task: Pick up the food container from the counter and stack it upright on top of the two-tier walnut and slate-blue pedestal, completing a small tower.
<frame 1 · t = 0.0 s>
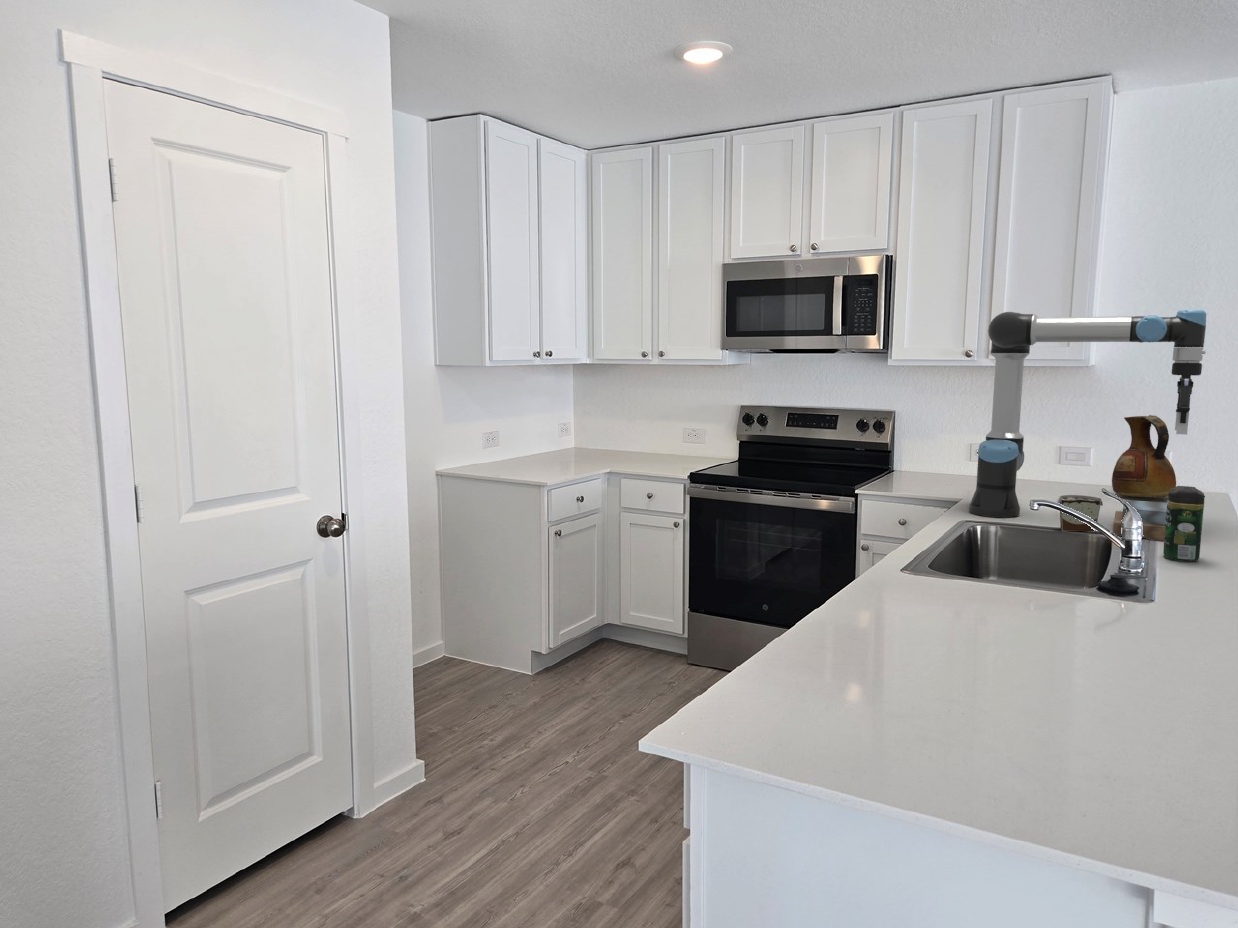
hand: (1180, 432, 262), 28 cm above the counter, tool pointing down, fingers open, 13 cm apart
ceramic pitcher: (1142, 498, 308), on the counter
coffee jar: (1180, 558, 222), on the counter
pedestal: (1153, 533, 250), on the counter
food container: (1074, 530, 255), on the counter
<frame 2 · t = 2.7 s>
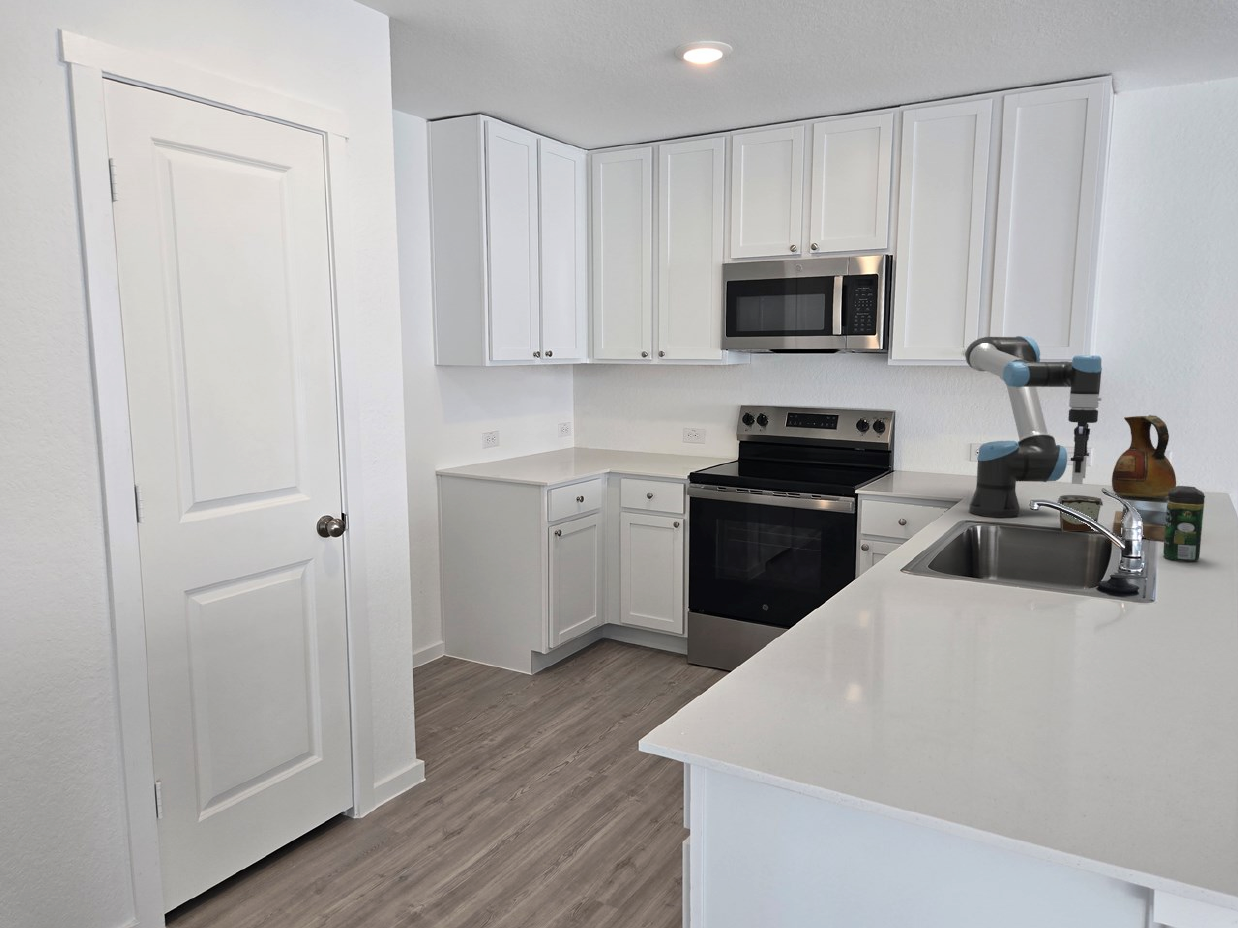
hand: (1078, 480, 253), 15 cm above the counter, tool pointing down, fingers open, 13 cm apart
nothing on the counter moved.
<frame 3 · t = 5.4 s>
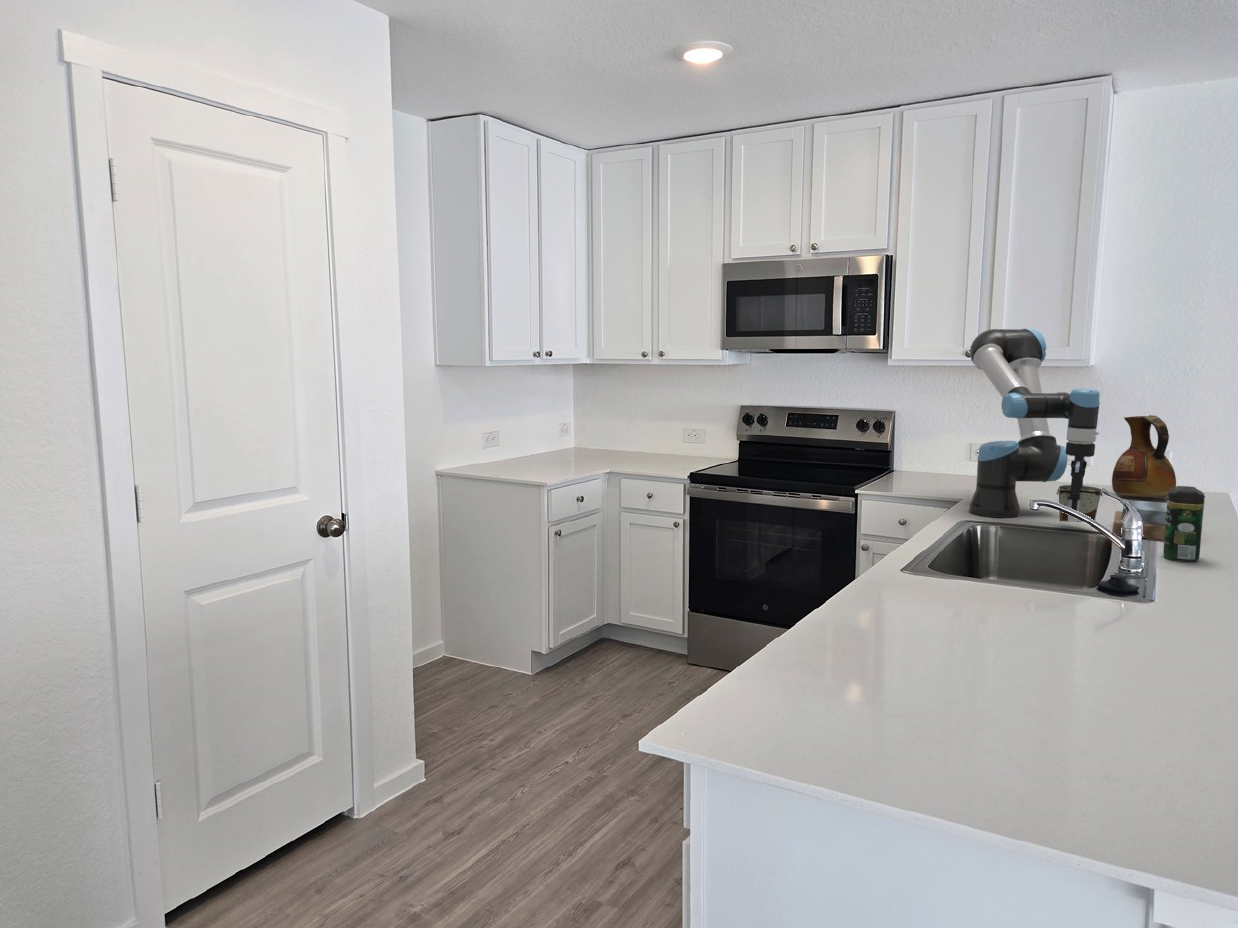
hand: (1073, 518, 256), 3 cm above the counter, tool pointing down, fingers closed on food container, 6 cm apart
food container: (1073, 520, 256), point 3 cm above the counter, touching gripper
everything else where it was.
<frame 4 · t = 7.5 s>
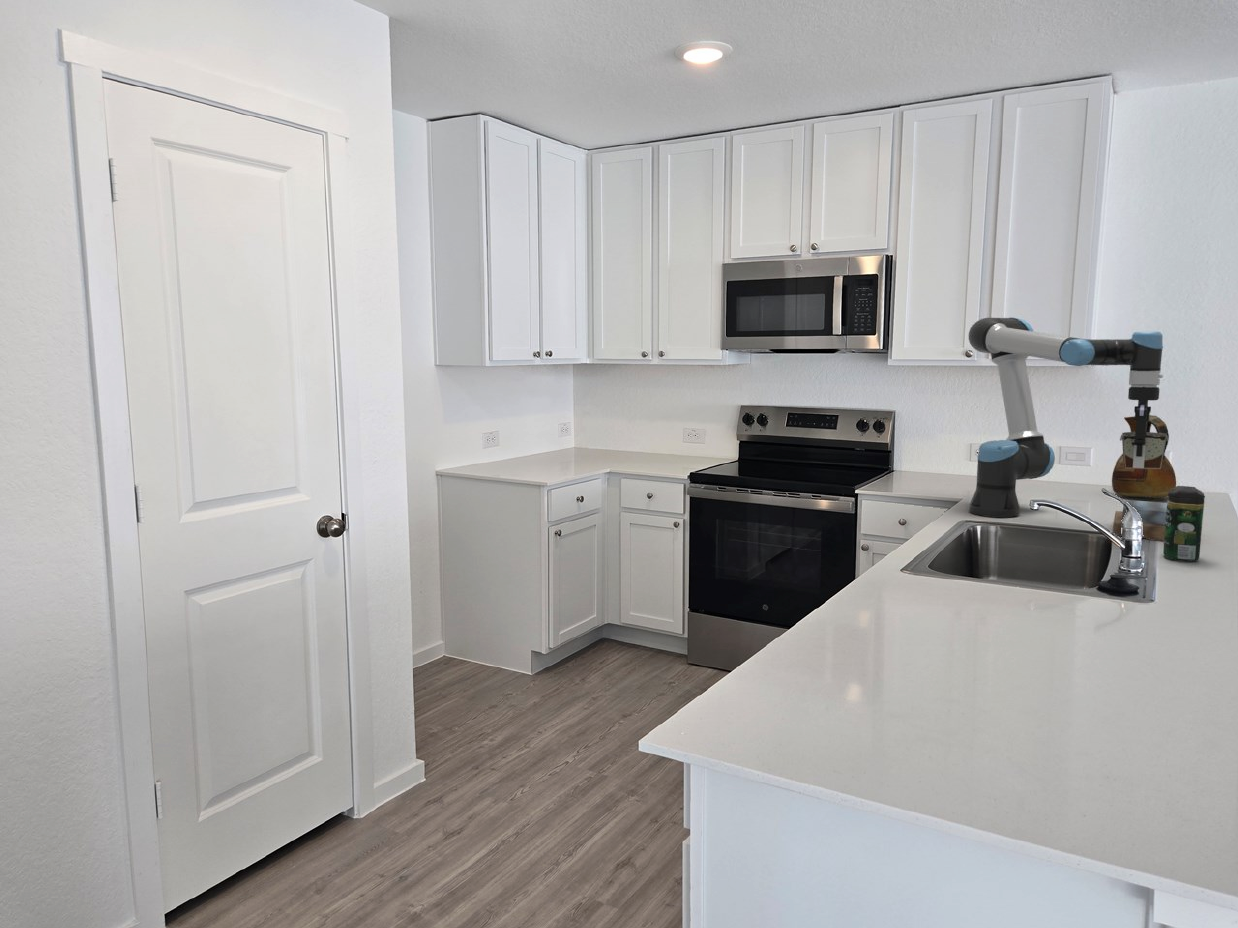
hand: (1138, 466, 248), 20 cm above the counter, tool pointing down, fingers closed on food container, 6 cm apart
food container: (1138, 467, 249), point 19 cm above the counter, touching gripper
everything else where it was.
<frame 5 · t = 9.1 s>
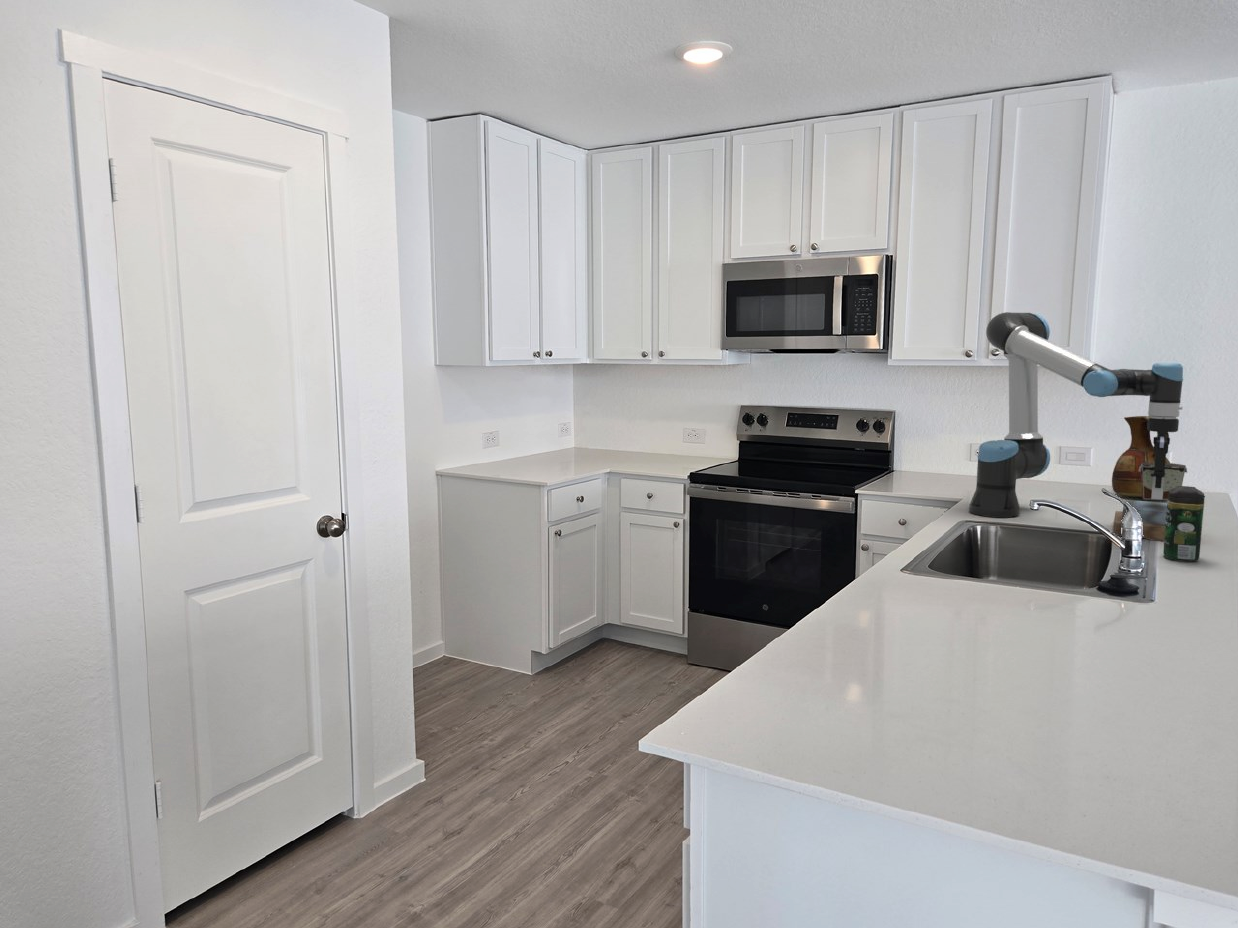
hand: (1156, 497, 249), 11 cm above the counter, tool pointing down, fingers closed on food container, 6 cm apart
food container: (1156, 498, 249), point 10 cm above the counter, touching gripper
everything else where it was.
when the fingers open (8 cm above the counter, at t = 9.9 s): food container stays where it is, resting on pedestal.
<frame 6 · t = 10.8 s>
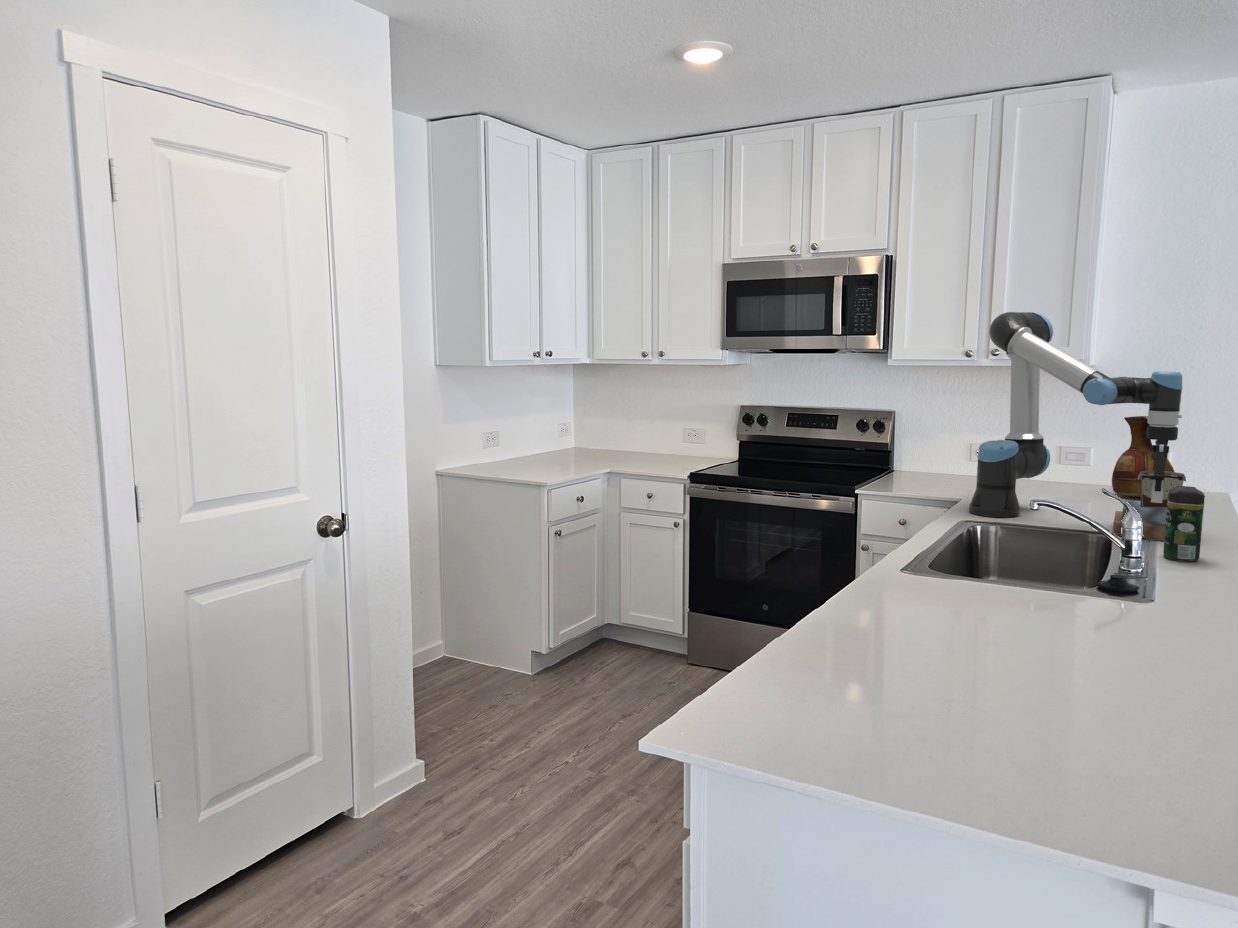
hand: (1156, 498, 249), 10 cm above the counter, tool pointing down, fingers open, 13 cm apart
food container: (1155, 506, 250), point 8 cm above the counter, touching pedestal
everything else where it was.
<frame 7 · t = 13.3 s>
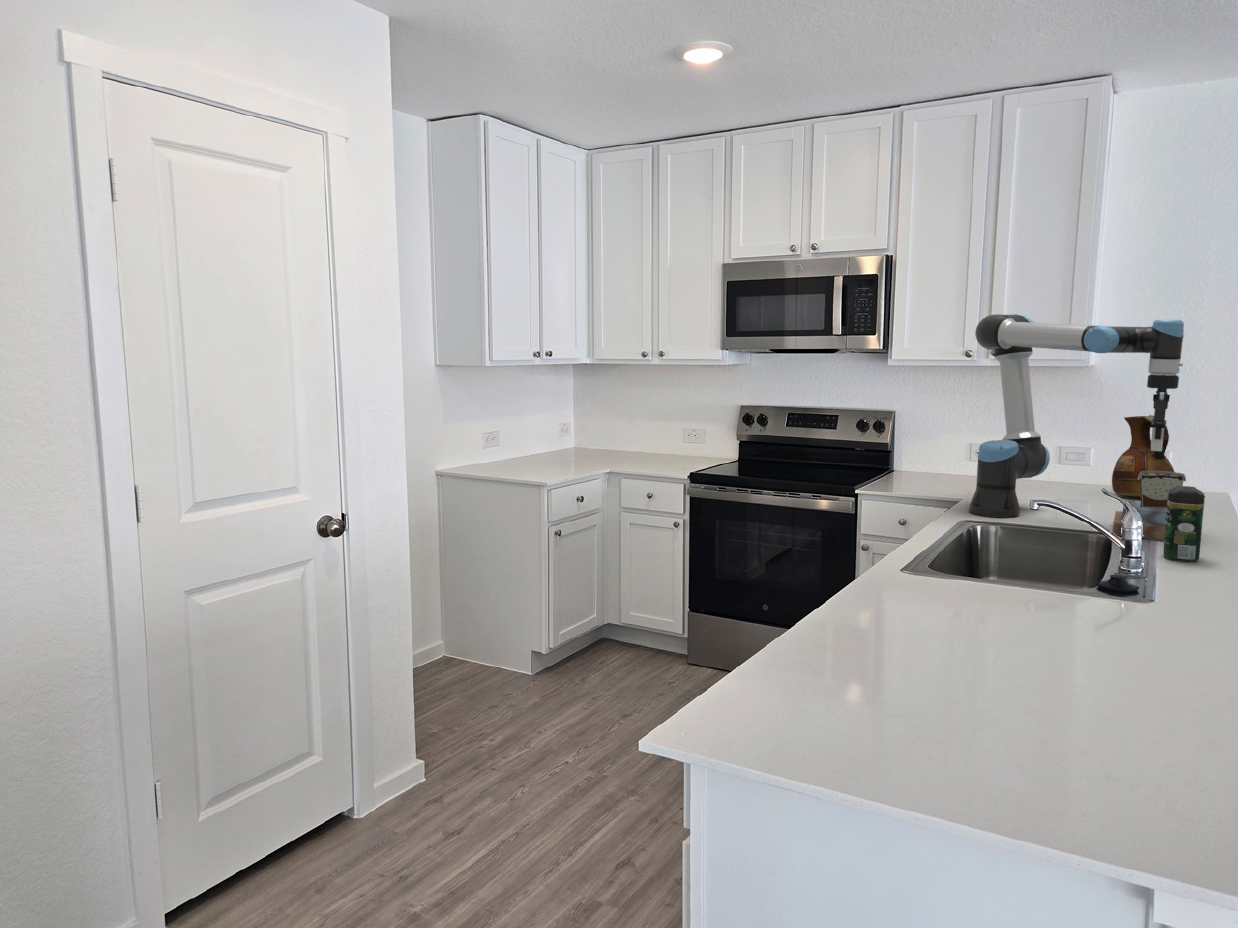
hand: (1156, 448, 248), 25 cm above the counter, tool pointing down, fingers open, 13 cm apart
nothing on the counter moved.
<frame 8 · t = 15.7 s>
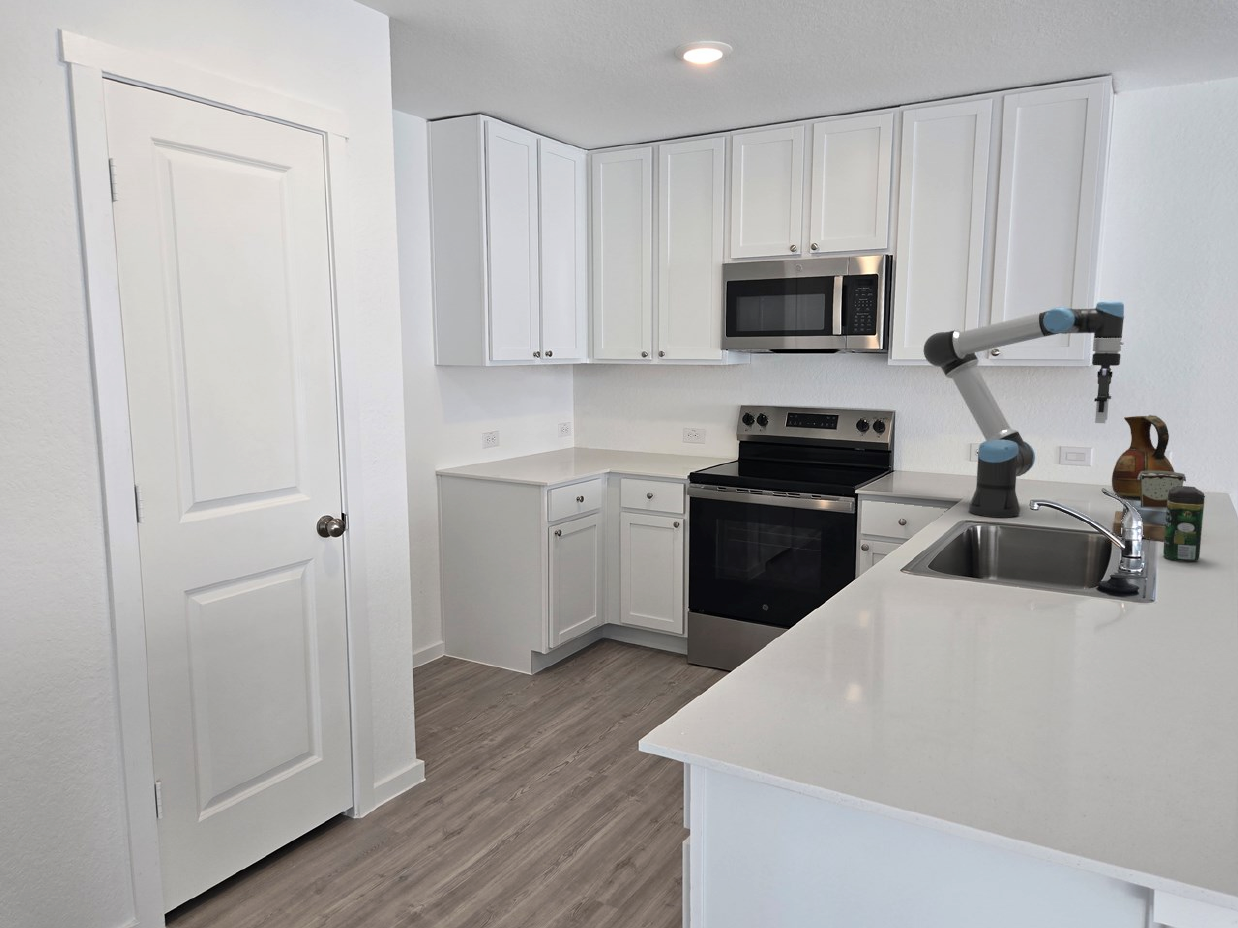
hand: (1101, 421, 268), 31 cm above the counter, tool pointing down, fingers open, 13 cm apart
nothing on the counter moved.
at the end: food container inside the target area on the pedestal (0.8 cm from its centre), point 7.8 cm above the pedestal's base; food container tilted 0°; the gripper is holding nothing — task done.
